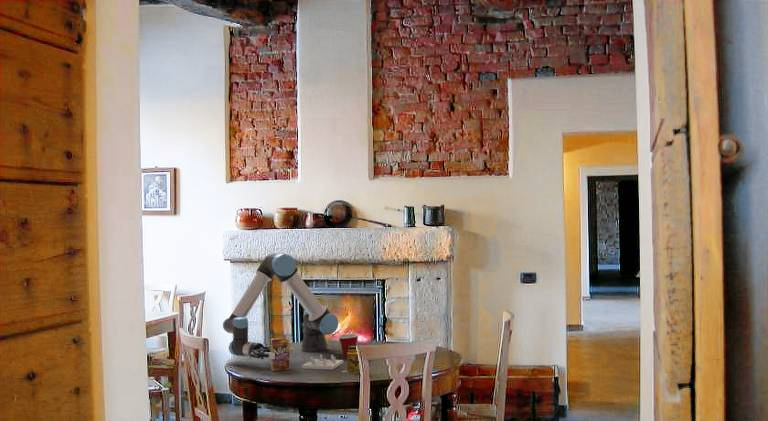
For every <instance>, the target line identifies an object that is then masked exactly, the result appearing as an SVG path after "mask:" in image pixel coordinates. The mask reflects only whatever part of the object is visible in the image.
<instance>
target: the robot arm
mask: <svg viewBox="0 0 768 421" xmlns="http://www.w3.org/2000/svg"><path fill="white" fill-rule="evenodd" d="M298 271H299V269H298V267H297V264H296V261H295V259H294V258H293V257H292V255H290V254H287V253H282V252H281V253H275V252H273V253H270V254H268V255H267V256H266V257H264V259H263V260H262V262H261V263H260V264H259V266H258V267H257V269H256V270H255V273H256V274H255V276H254V277H253V279H252V281H251V283H249V285H248V287H247V289H246V290H245V291H244V293H243V295H242V296H241V298H240V300H239V302H238V303H237V304H236V306H235V307H234V309H233V311H232V313H231V314H230V316H229V317H228V318H226V319H225V320H223V323H222V328H223V330H224V331H225V332H227V333H228V334H232V337H233V340H232V341H231V342H230V343H229V345H228V350H229V351H228V352H229V353H230V354H231V355H234V356H236V357H247V358H249V359H252V358H253V359H261V360H264V359H270V360H271V359H275V353H271V345H270V346H264V344H262V343H261V342H255V341H249V318H247V316H248V315H249V313H250V311H251V310H252V308H253V307H254V305H255V304H256V302H257V300H258V299H259V297H260V296H261V294H262V293H263V290H264V289H265V287H266V286H267V285H268V282H271V281H272V280H273V279H274V277H276V279H277V280H278V281H279V282H280V283H282V284H283V283H284V285H286V287H287V288H288V289H289V291H290V292H291V293H292V295H293V296H294V297H295V299H296V300H297V301H298V302H299V304H300V305H301V307H302V308H303V309H304V311H303V316H302V318H303V339H302V341H301V342H302V343H301V346H300V347H301V348H300V351H302V352H307V353H309V352H312V353H313V352H314V353H316V352H324V351H327V350H328V349H329V348H328V346H329V345H328V343H327V340H326V337H325V335H333V334H334V333H335V332H336V331H337V330H338V327H339V322H340V321H339V318H338V316H337V315H336V314H334V313H331V312H330V310H329V309H328V307H327V306H326V305H322V304H321V303H320V301H319V299H317V297H316V296H315V294H313V292H312V291H311V289H310V288H309V287H308V285H307V284H306V283H305V280H303V278H302V277H301V276H300V274H299V273H298ZM295 353H296V350H295V348H293V347H292V348H290V347H289V355H296V354H295Z"/></svg>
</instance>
